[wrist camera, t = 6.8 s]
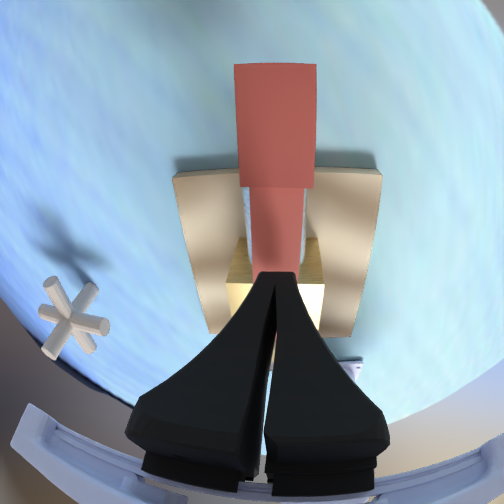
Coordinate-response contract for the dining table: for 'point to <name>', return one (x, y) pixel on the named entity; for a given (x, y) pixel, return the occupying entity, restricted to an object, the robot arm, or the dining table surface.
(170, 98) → the dining table surface
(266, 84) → the lever
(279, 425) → the robot arm
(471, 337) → the dining table surface
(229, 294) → the ball valve
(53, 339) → the pipe connector
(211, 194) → the mounting board
